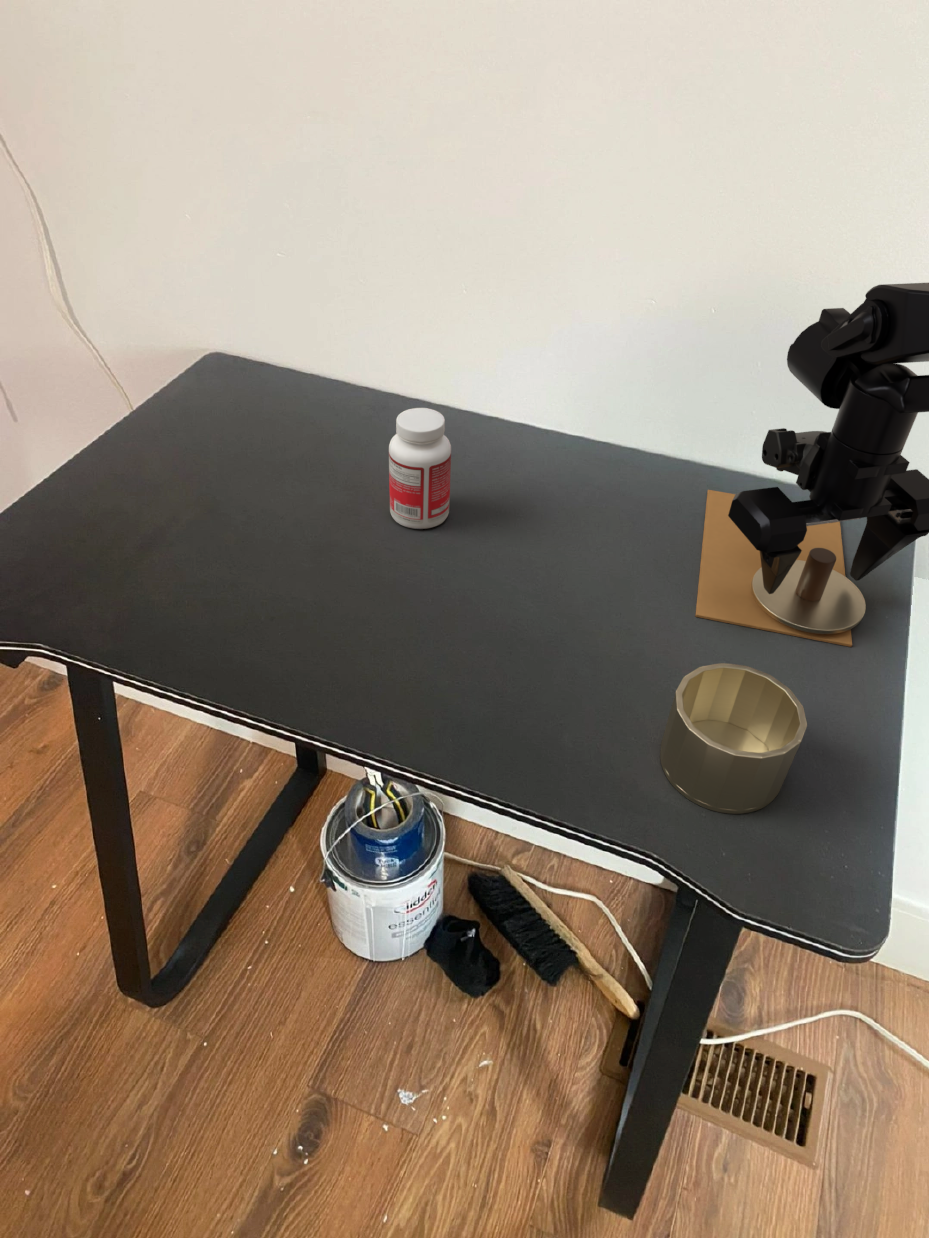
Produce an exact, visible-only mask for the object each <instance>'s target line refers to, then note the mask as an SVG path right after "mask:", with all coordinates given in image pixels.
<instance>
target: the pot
mask: <svg viewBox="0 0 929 1238" xmlns="http://www.w3.org/2000/svg"><path fill="white" fill-rule="evenodd" d="M806 718H807V717H806V713H805V709H804V706H803V704H802V702H801V701H800V700H799V699H798V698H797V696H796V695H795V694H794V692H793V690H791V688H790V687H788V686H787V685H785V684H784V683H783V682H781V681H780V680H778V679H777V678H775V677H774V676H773V675H771V674H770V673H767V672H765V671H761V670H759V669H756V668H753V667H750V666H748V665H743V664H736V663H735V664H734V663H726V662H719V663H713V664H709V665H703V666H699V667H697V668H695V669H694V670H692V671H691V672H689V673H688V674H686V675H685V676H683V677H682V679H681V681H680V683H679V685H678V686H677V688H676V690H675V693H674V697H673V700H672V703H671V707H670V710H669V714H668V718H667V721H666V724H665V728H664V732H663V734H662V739H661V742H660V749H659V750H660V752H659V759H660V765H661V768H662V772H663V773H664V775H665V777H666V778H667V781H668V782H669V783H670V784H671V786H672V787H673V788H674V789H675V790H676V791H677V792H678V793H679V794H681V796H683V797H684V798H686V799H687V800H689V801H690V802H692V803H693V804H695V805H698V806H699V807H702V808H703V809H707V810H710V811H713V812H717V813H721V814H730V815H740V814H741V815H742V814H749V813H752V812H756V811H759V810H761V809H764V808H765V807H767V806H769V805H770V804H771V803H772V802H773V801H774V800H775V799H776V797H777V796H778V795H779V794H780V792H781V789H782V787H783V785H784V782H785V780H786V778H787V776H788V773H789V771H790V769H791V766H792V764H793V761H794V759H795V758H796V754H797V752H798V750H799V748H800V746H801V743H802V741H803V738H804V736H805V733H806V730H807V727H808V722H807V719H806Z"/></svg>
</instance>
